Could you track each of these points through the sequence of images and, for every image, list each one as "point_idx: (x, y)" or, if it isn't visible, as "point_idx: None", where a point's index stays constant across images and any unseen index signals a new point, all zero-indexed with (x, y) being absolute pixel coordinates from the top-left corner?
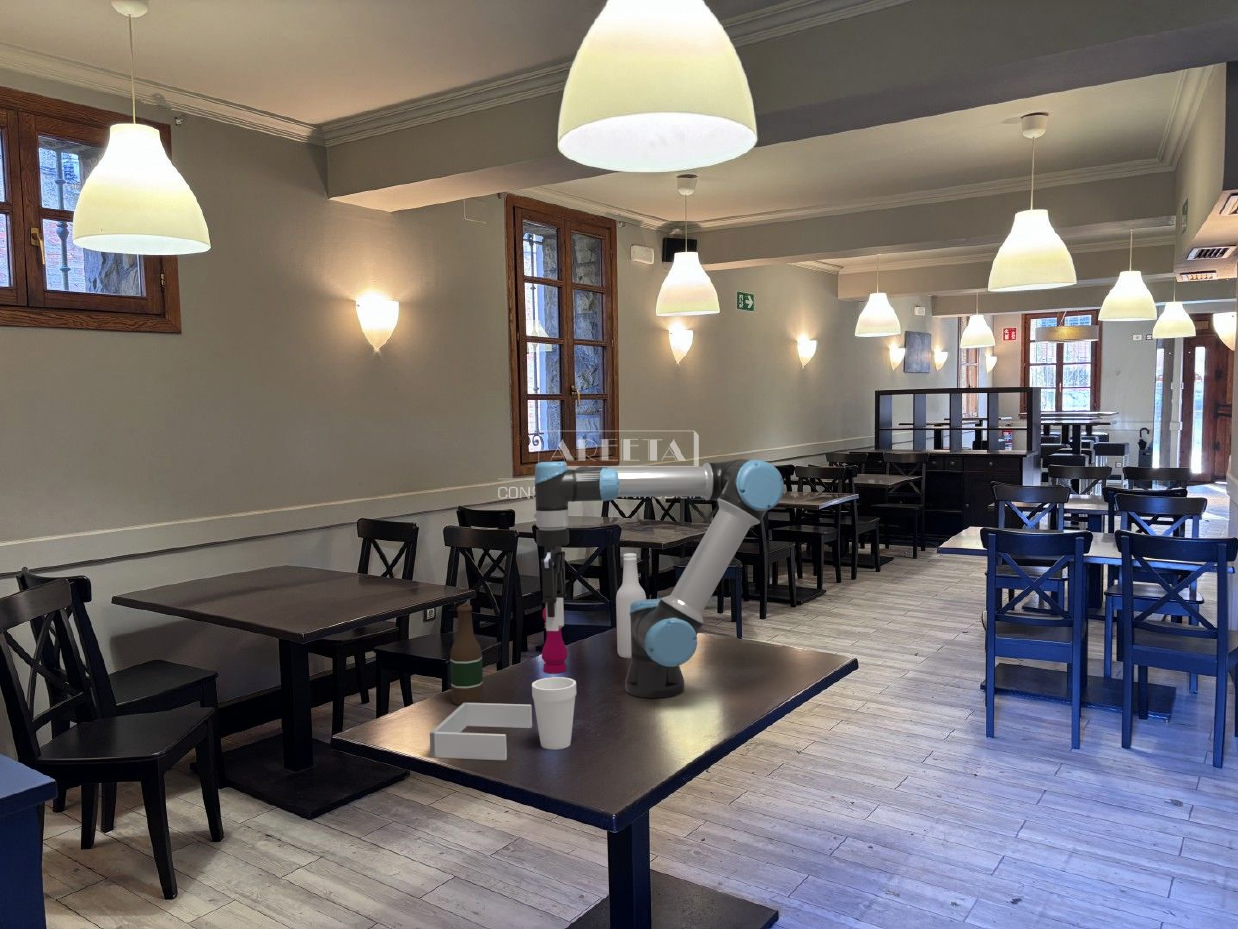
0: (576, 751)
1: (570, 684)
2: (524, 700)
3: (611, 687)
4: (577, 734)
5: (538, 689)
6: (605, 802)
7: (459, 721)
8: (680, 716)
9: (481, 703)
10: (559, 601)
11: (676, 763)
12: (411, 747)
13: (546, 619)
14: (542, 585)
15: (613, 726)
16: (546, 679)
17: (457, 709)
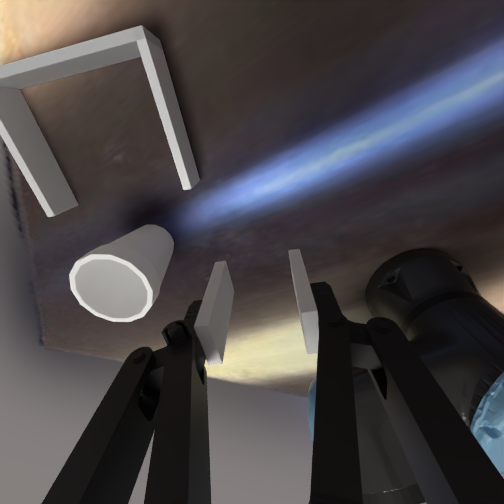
0: None
1: (146, 302)
2: (329, 91)
3: (424, 224)
4: (198, 254)
5: (70, 278)
6: (56, 336)
7: (106, 57)
8: (299, 340)
9: (155, 78)
10: (303, 332)
11: None
12: (12, 4)
13: (209, 283)
14: (82, 434)
15: (242, 285)
16: (129, 266)
17: (97, 42)
